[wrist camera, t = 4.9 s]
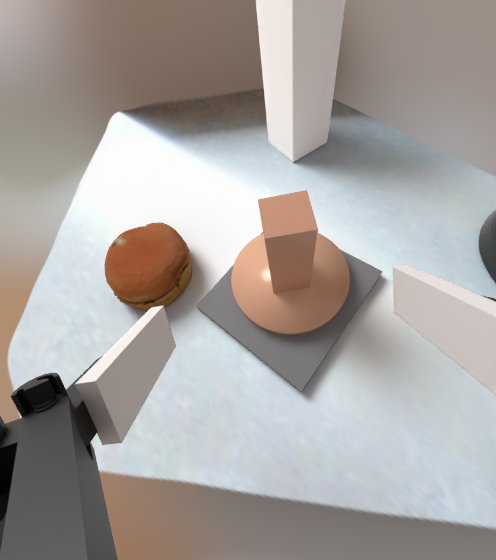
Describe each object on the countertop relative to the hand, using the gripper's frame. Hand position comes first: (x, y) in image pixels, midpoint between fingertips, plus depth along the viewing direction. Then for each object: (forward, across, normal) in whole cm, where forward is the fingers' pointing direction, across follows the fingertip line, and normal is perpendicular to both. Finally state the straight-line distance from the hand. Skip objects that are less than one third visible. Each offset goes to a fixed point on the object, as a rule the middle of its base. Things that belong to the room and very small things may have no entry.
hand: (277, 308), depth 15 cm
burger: (+16, -13, 0) cm, 21 cm away
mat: (+12, +1, -4) cm, 12 cm away
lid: (+12, +2, -2) cm, 12 cm away
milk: (+28, +7, +13) cm, 31 cm away
